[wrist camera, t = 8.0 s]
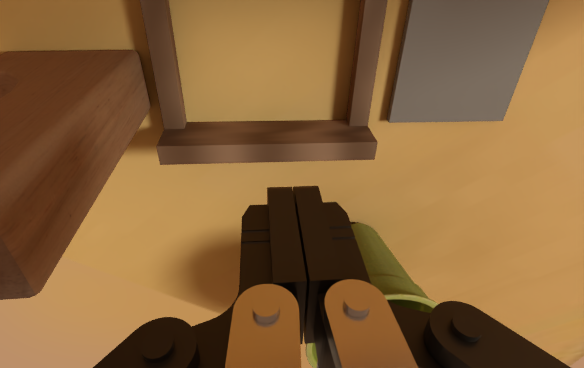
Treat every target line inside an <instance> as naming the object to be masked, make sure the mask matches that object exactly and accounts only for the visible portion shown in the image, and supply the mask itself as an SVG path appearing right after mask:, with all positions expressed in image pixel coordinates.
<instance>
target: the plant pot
mask: <svg viewBox="0 0 584 368" xmlns="http://www.w3.org/2000/svg"><path fill="white" fill-rule="evenodd" d="M351 228H352V229H353V232H354V235H355V239H356V241H357V244H358V247H359V249H360V252H361V255H362V258H363V261H364V264H365V267H366V270H367V273H368V276H369V278H370V281H371V283H372V285H373V286H375V287H376V288H377V289H379V290H380V291H381V292H382V294H383V295H384V296H385V298H386V299H387V300H388V301H390V302H392V303H394V304H396V305H399V306H402V307H406V308H410V309H415V310H419V311H423V312H428V313H431V312H432V310H433V309H434V307H436V306H437V305H438V303H436V302H435V301H433V300H431V299H429V298H428V297H427V296H426V294H425V293H424V292H423V291H422V289H421V288H420V287H419V286H418V285H416V284H415V283H414V282H413V281H412V279H411V278H410V277H409V275H408V274H407V273H406V271H405V270H404V269H403V267H402V266H401V265H400V263H399V262H398V261H397V259H396V258H395V257H394V255H393V254H392V252H391V251H390V250H389V248H388V247H387V246H386V244H385V243H384V242H383V240H382V239H381V238H380V236H379V235H378V234H377V232H376V231H375V230H374V229H372V228H371V227H369V226H367V225H365V224H361V223H356V224H351ZM306 356H307V359H308V361H309V363H310V365H311V366H312V367H313V368H316V367H317V353H316V346H315V343H307V344H306Z"/></svg>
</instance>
